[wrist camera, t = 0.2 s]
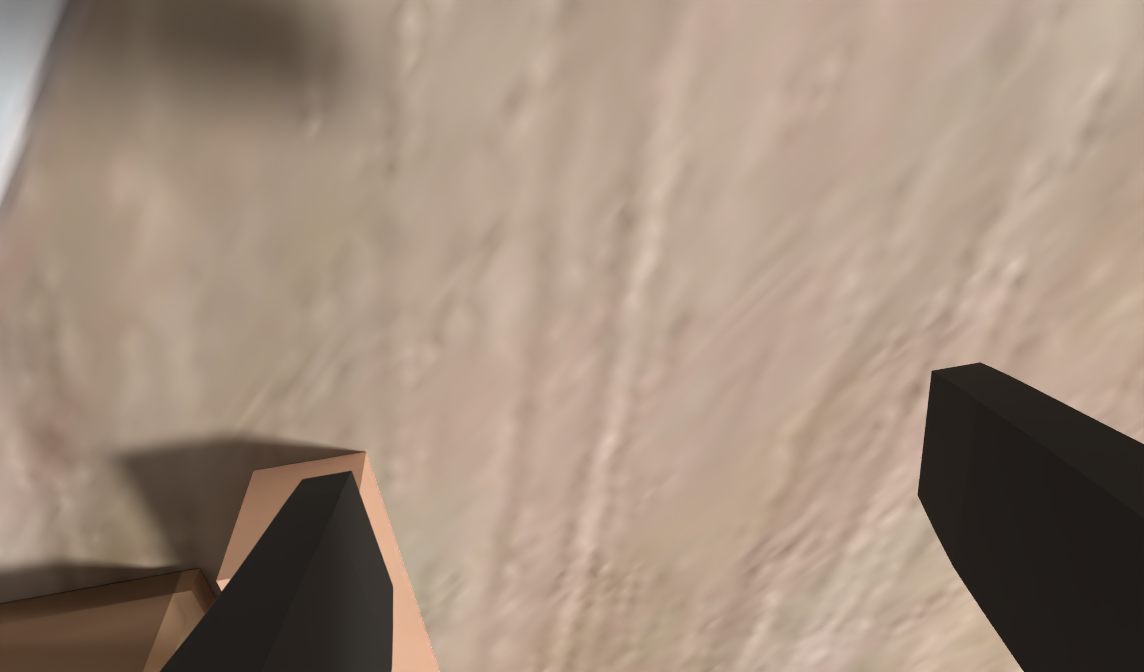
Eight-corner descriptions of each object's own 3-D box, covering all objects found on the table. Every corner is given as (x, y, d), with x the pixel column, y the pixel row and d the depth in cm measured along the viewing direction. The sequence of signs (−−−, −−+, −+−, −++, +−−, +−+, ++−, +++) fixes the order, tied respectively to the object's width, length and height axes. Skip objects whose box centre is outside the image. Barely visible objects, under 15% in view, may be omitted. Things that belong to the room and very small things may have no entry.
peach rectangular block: (445, 680, 27) (441, 801, 24) (354, 696, 27) (338, 819, 24) (366, 447, 22) (348, 558, 19) (255, 465, 22) (216, 580, 19)
